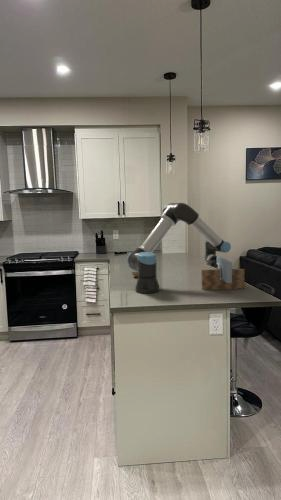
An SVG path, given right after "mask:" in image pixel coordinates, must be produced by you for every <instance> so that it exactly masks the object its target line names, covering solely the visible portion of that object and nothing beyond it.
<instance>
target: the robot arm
mask: <svg viewBox="0 0 281 500" xmlns="http://www.w3.org/2000/svg"><path fill="white" fill-rule="evenodd" d="M161 212H162V214H160V220H159V221H158V223H157V224H156V225H155V227H154V228H153V229H152V231H151V232H150V233H149V235H148V236H147V237H146V239H145V240H144V241H143V243H142V244H141V246H137V247H136V248H135V249H134V251H131V252H130V253H128V255H127V257H126V264H127V265H128V267H129V268H130V269H131V268H132V269H133V270H136V271H138V277H137V281H136V284H135V286H134V288H135V290H134V292H137V293H139V294H155V293H159V292H160V289H161V288H160V285H159V281H158V276H157V271H158V270H157V264H158V263H157V255H156V253H154V251H155V250H156V249H157V247H158V246H159V244H160V242H161V241H162V240H163V238H164V237H165V236H166V235H167V234H168V232H169V231H170V229H171V228H172V227H175V226H176V225H177V223H178V222H179V221H182V222H184V223H185V224H187V226H191V227H192V228H193V229H194V230H195V231H197V233H199V234H200V235H201V236H202V237H203V238H204V239H205V242H204V244H205V245H204V246H205V247H204V249H205V255H204V256H203V259H204V261H205V262H206V265H208V266H210V267H214V268H215V269H217V268H219V269H220V264H219V263H217V257H218V256H217V252H219V253H222V254H223V253H225V254H226V253H229V252H230V250H232V249H231V248H232V247H231V244H230V242H229V241H225V240H224V239H223V238H222V237H221V236H219V235H218V234H217V233H216V231H214V230H213V229H212V228H211V227H210V226H209V225H208V224H207V223H206V222H205V221H204V220H203V219H202V218H201V217H200V215H199V213H198V212H197V211H196V210H195V209H194V208H192V207H191V206H190V205H188V204H186V203H184V202H170V203H167V204H166V205H165V206H163V209H162V211H161Z"/></svg>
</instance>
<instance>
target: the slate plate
mask: <svg viewBox="0 0 281 500" xmlns="http://www.w3.org/2000/svg"><path fill="white" fill-rule="evenodd" d="M217 263H219V264H220V269H219V268H217V267H216V269H219V270H220V279H221V278H222V280H224V281H225V282H226V283H232V269H233V262H232V261H230V260H228V259H226V258H224V257H222V256H217Z"/></svg>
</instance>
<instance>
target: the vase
mask: <svg viewBox="0 0 281 500" xmlns="http://www.w3.org/2000/svg"><path fill="white" fill-rule="evenodd" d="M130 270H131V274H132V276H133V277H136V278H138V271H136V270H133V269H132V268H130Z"/></svg>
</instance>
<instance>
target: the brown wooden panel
mask: <svg viewBox="0 0 281 500" xmlns="http://www.w3.org/2000/svg"><path fill="white" fill-rule="evenodd" d="M235 288H244V289H245V269H244V268H232V283H226V282H225V281H224V280H222V279H221V278H220V270H219V269H217V268H215V269H201V290H204V291H205V290H236V289H235Z"/></svg>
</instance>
